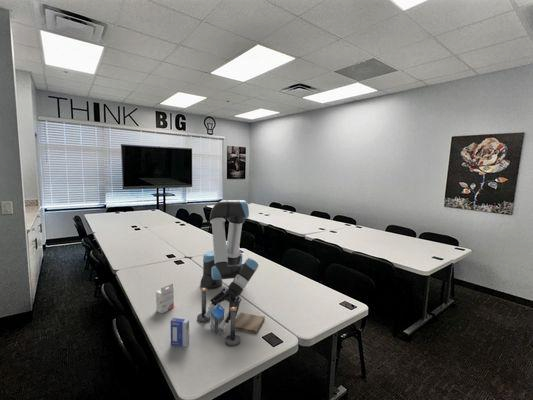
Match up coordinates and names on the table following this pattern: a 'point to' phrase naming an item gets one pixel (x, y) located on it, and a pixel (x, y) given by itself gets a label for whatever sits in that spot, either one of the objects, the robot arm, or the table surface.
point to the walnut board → (249, 322)
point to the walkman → (179, 332)
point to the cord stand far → (203, 307)
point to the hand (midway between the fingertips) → (213, 322)
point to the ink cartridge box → (165, 299)
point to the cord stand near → (232, 329)
